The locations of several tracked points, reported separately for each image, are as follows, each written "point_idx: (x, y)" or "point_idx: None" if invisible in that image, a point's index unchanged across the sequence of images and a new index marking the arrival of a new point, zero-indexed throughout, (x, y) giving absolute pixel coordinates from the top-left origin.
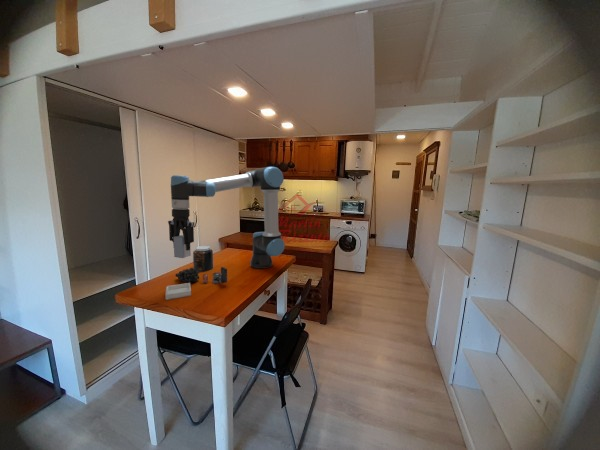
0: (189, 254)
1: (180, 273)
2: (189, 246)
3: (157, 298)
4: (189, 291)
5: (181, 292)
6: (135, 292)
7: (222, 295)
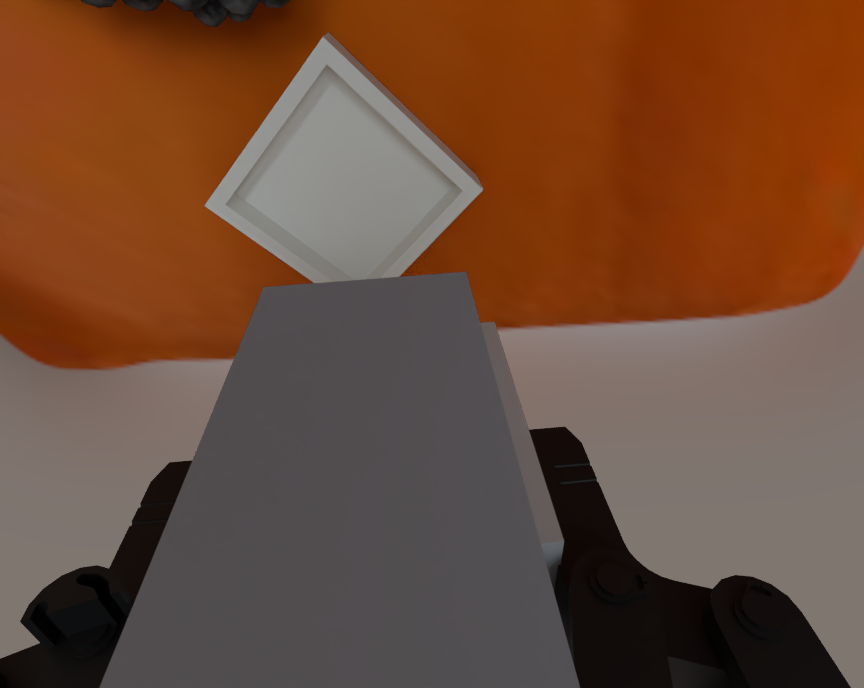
0: (499, 338)
1: (101, 7)
2: (599, 510)
3: None
4: (475, 197)
5: (432, 241)
6: (51, 305)
7: (736, 52)
